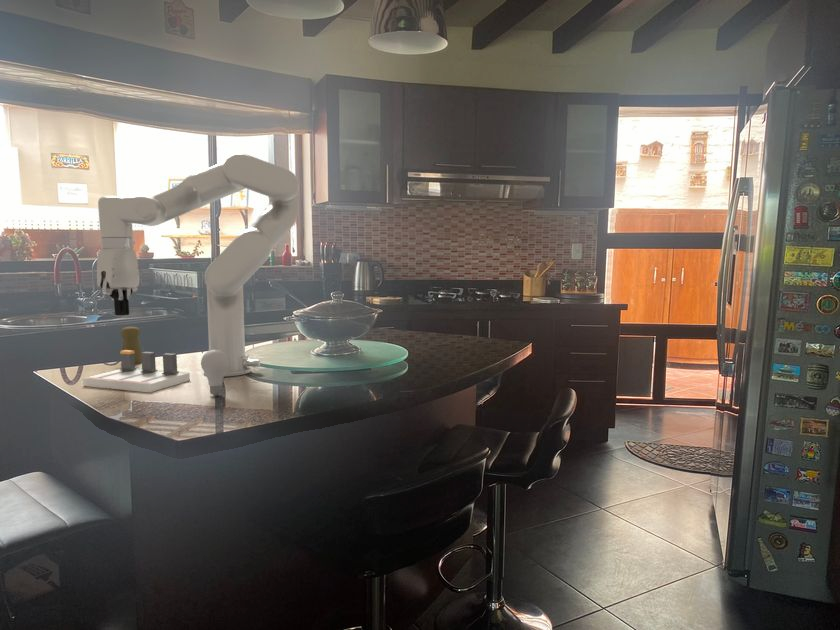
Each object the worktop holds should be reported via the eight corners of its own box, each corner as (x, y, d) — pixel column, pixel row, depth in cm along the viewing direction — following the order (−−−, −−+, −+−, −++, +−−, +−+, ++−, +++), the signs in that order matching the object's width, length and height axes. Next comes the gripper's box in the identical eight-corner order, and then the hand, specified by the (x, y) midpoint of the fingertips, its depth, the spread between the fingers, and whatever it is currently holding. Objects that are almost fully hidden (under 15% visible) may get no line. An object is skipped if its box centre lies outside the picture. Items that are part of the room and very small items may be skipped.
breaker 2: (170, 371, 155) (169, 352, 155) (179, 372, 154) (178, 353, 154) (161, 374, 152) (160, 354, 152) (170, 374, 151) (169, 355, 151)
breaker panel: (127, 374, 162) (126, 367, 162) (189, 380, 155) (189, 372, 155) (83, 385, 149) (82, 377, 149) (149, 392, 142) (149, 384, 142)
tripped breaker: (128, 368, 160) (127, 349, 159) (137, 369, 159) (136, 350, 158) (118, 370, 157) (117, 351, 156) (128, 371, 156) (127, 352, 155)
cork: (147, 361, 182) (145, 325, 181) (135, 364, 176) (133, 328, 175) (128, 360, 182) (126, 325, 181) (116, 364, 176) (114, 328, 175)
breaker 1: (149, 370, 158) (148, 351, 157) (158, 370, 157) (157, 351, 156) (139, 372, 155) (138, 353, 154) (148, 373, 154) (147, 353, 153)
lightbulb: (214, 400, 135) (212, 352, 133) (196, 396, 138) (194, 350, 137) (235, 394, 140) (233, 349, 139) (218, 391, 143) (216, 346, 142)
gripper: (128, 245, 161) (132, 311, 163) (81, 245, 147) (87, 318, 149) (150, 244, 159) (154, 312, 161) (105, 244, 145) (110, 318, 147)
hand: (122, 314), depth 155 cm, fingers closed
